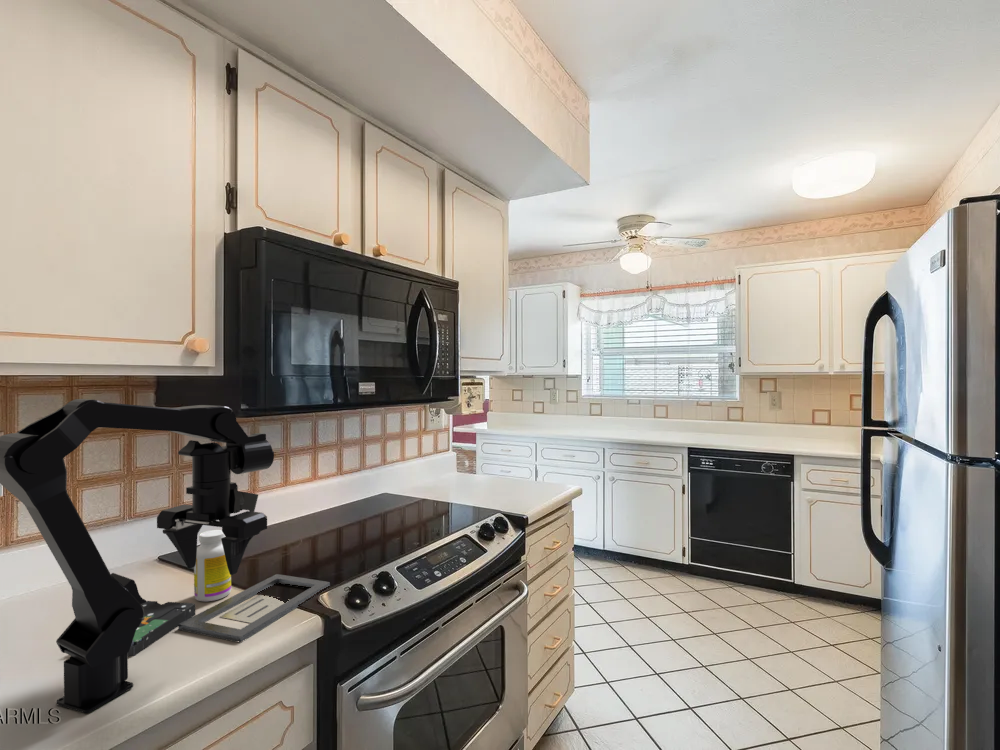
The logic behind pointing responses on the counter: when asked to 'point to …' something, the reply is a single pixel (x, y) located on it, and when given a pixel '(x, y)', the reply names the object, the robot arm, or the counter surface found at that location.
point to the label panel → (251, 609)
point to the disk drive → (159, 622)
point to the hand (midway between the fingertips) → (212, 570)
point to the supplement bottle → (211, 568)
